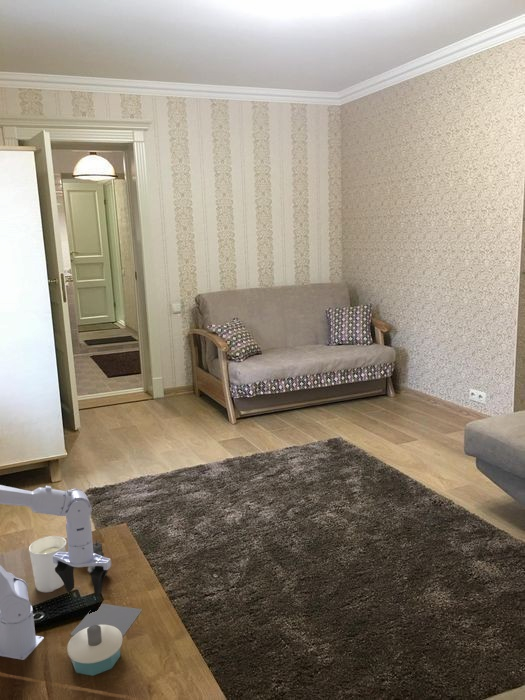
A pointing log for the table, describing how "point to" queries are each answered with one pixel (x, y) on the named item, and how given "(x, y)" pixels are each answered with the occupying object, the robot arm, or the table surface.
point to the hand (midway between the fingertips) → (84, 591)
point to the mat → (110, 618)
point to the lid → (94, 644)
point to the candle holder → (46, 562)
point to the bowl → (96, 665)
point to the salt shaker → (97, 550)
